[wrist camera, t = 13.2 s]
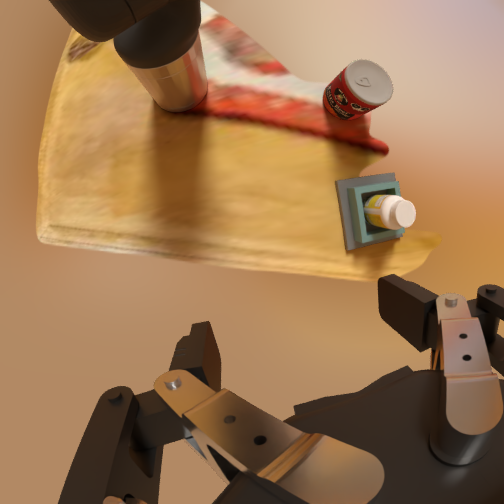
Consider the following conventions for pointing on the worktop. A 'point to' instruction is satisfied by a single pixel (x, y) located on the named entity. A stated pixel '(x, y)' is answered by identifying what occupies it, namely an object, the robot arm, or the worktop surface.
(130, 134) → the worktop surface
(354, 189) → the grey-teal square frame
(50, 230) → the worktop surface
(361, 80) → the canned food
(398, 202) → the supplement bottle
